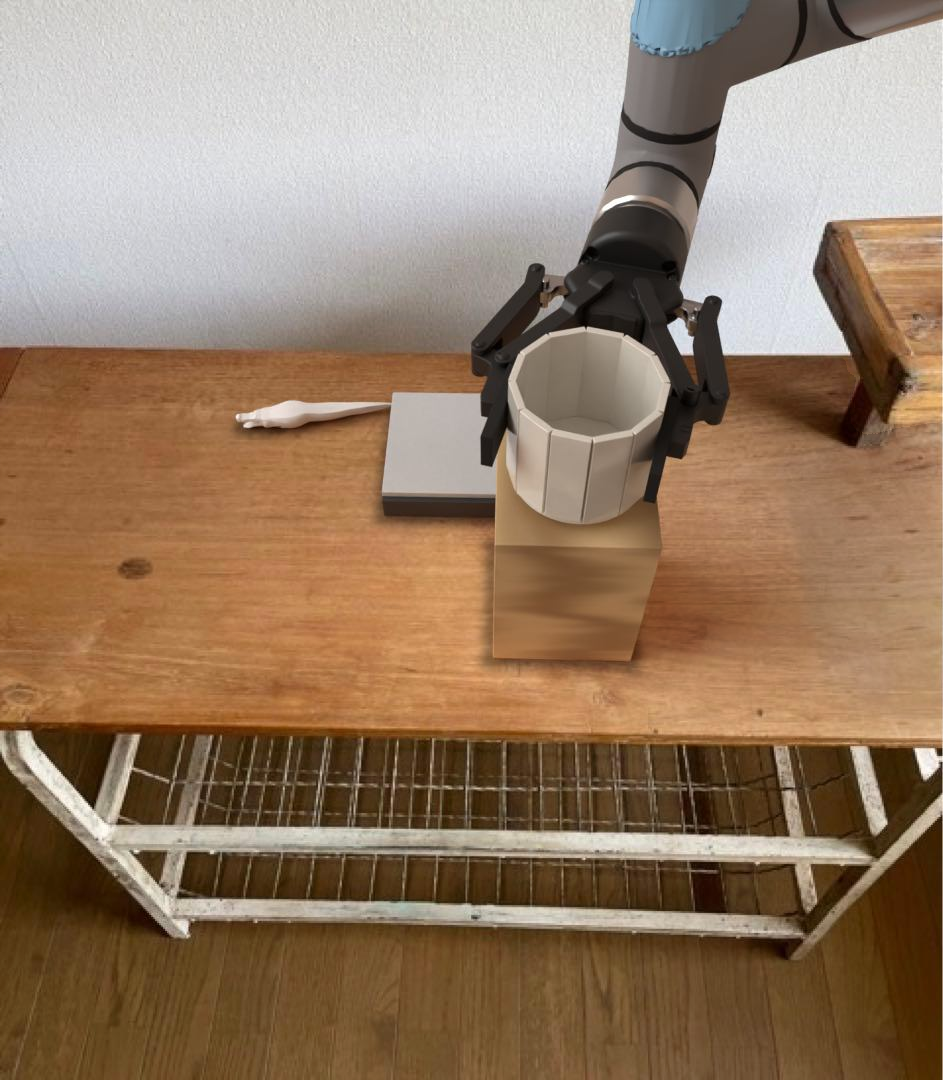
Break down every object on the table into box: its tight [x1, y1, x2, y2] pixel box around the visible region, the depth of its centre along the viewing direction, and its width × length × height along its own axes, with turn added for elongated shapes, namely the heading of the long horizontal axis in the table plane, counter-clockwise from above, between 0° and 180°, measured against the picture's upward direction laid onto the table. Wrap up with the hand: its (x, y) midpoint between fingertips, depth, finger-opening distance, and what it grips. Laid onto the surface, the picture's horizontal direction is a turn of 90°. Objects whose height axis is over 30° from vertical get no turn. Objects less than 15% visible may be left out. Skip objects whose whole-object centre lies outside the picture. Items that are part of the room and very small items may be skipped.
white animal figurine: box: [235, 399, 392, 429], centre depth 87 cm, size 15×3×2 cm, turn 98°
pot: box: [506, 327, 671, 524], centre depth 59 cm, size 10×10×8 cm
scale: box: [381, 391, 496, 519], centre depth 84 cm, size 14×13×3 cm
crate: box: [492, 429, 663, 662], centre depth 70 cm, size 11×11×16 cm
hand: (567, 470), depth 55 cm, fingers closed on pot, 10 cm apart
